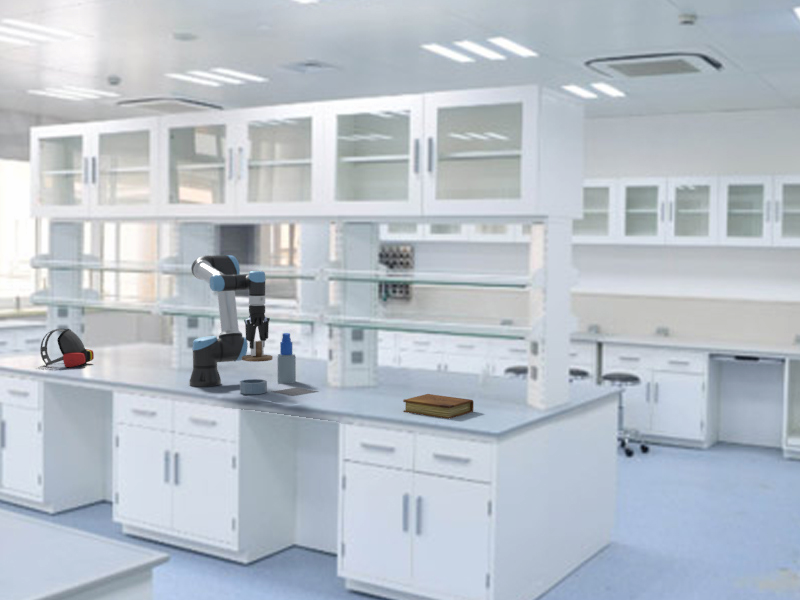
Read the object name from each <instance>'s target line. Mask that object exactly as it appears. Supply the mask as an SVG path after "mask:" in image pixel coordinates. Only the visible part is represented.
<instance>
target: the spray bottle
mask: <svg viewBox="0 0 800 600" xmlns="http://www.w3.org/2000/svg"><path fill="white" fill-rule="evenodd" d="M279 347H280V352H279V354H277V385H282V384H293V383H296V382H297V381H296V375H297V374H296V373H297V372H296V371H297V370H296V367H297V365H296V361H297V360H296V359H297V358H296V354H295V353H293V341H292V340H291V333H290V332H289V333H288V332H284V333H282V338H281V342H280V345H279Z"/></svg>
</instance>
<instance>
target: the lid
mask: <svg viewBox="0 0 800 600" xmlns="http://www.w3.org/2000/svg"><path fill="white" fill-rule="evenodd" d="M254 342H256V356H251V354H246V355H245V356H242V360H241V361H245V362H252V363H253V362H257V363H258V362H269V361H272V360H273V355H270V354H264V355H262V342H261V341H259V340H254Z"/></svg>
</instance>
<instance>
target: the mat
mask: <svg viewBox="0 0 800 600" xmlns="http://www.w3.org/2000/svg"><path fill="white" fill-rule="evenodd" d="M319 392H320V391H318V390H313V389H308V388H307V389H306V388H302V387H291V388H290V387H289V388H285V389H278V390H272V391H271V393H275V394H280V395H286V396H291V397H295V396H296V397H297V396H301V395H308V394H309V395H310V394H314V393H319Z"/></svg>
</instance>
